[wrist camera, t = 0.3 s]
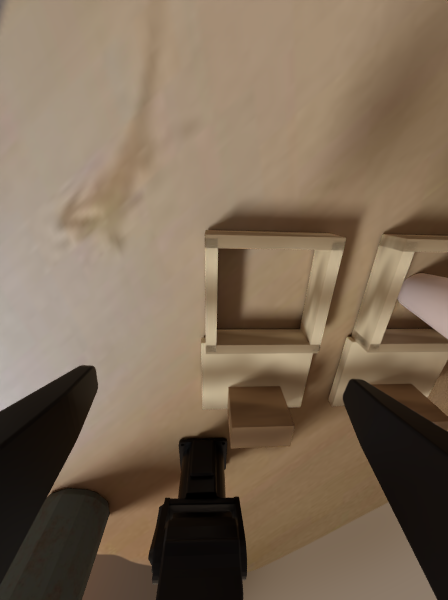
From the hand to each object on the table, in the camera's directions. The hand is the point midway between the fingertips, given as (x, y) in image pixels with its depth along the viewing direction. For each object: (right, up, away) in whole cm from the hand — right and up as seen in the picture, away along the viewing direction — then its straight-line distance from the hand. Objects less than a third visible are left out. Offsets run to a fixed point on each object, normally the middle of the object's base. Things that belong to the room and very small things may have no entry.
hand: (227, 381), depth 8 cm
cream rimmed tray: (+20, -1, +17) cm, 26 cm away
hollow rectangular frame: (+4, -1, +16) cm, 17 cm away
